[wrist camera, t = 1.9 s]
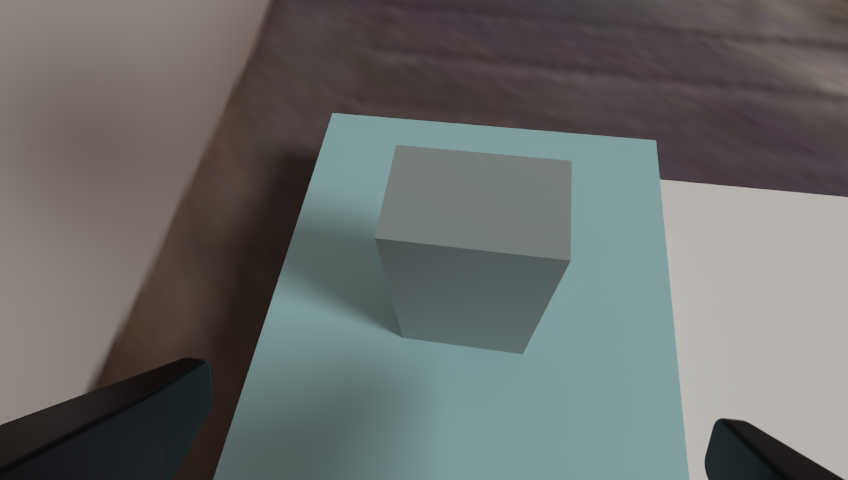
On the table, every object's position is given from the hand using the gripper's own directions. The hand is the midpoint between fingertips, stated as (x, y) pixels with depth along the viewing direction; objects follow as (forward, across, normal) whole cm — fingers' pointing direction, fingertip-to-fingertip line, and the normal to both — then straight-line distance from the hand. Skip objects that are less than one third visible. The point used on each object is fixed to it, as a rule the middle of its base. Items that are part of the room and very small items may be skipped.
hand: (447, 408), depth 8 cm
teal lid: (+10, 0, +4) cm, 10 cm away
